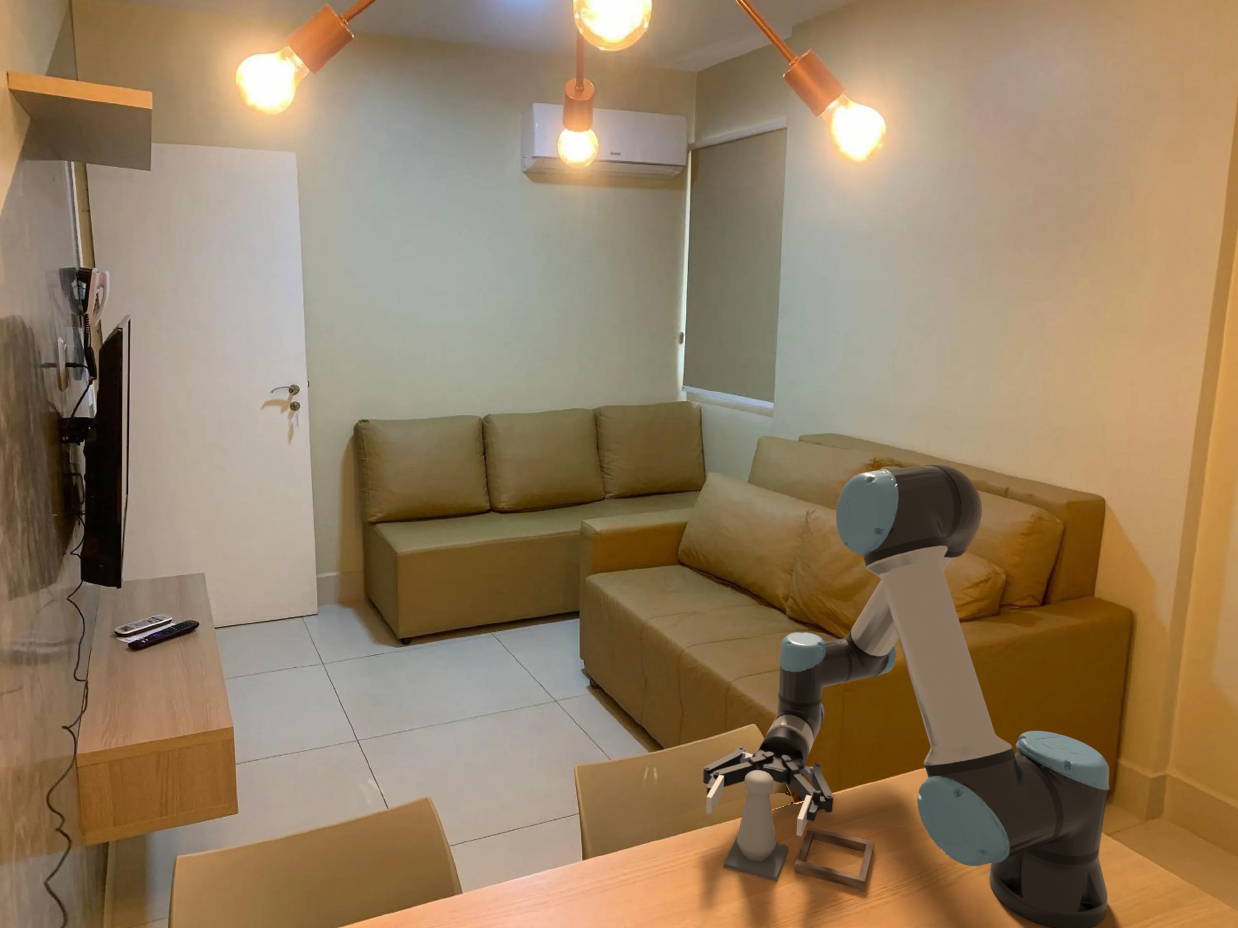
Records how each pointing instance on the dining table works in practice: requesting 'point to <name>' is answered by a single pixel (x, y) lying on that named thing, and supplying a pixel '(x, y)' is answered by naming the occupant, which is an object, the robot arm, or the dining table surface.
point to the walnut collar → (830, 873)
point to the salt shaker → (757, 818)
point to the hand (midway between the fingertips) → (753, 816)
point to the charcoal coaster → (762, 869)
